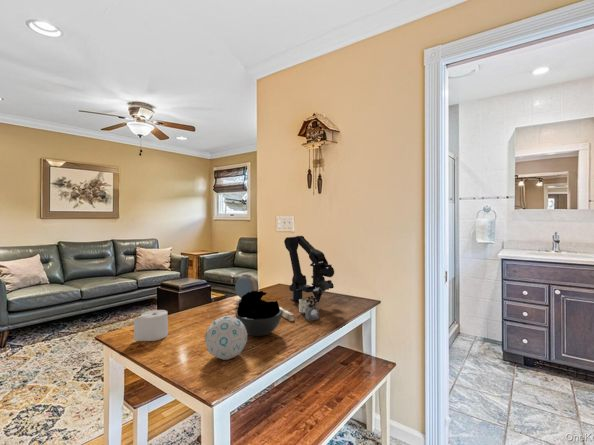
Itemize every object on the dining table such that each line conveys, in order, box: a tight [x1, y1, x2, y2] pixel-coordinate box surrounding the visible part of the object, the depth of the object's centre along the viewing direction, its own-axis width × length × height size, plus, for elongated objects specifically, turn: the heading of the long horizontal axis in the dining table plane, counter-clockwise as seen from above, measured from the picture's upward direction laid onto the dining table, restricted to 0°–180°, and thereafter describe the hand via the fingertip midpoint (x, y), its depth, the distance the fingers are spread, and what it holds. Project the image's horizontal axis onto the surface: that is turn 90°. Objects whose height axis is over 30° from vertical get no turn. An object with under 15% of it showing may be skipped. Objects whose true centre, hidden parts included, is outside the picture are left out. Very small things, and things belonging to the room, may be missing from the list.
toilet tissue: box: [133, 309, 169, 342], centre depth 131 cm, size 11×12×10 cm
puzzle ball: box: [204, 315, 248, 361], centre depth 112 cm, size 15×15×15 cm
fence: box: [279, 306, 295, 322], centre depth 158 cm, size 18×2×3 cm, turn 32°
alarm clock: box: [233, 273, 259, 306], centre depth 179 cm, size 14×10×18 cm
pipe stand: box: [303, 306, 320, 322], centre depth 153 cm, size 8×6×6 cm
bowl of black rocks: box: [235, 290, 283, 337], centre depth 133 cm, size 20×20×19 cm
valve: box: [298, 295, 318, 314], centre depth 167 cm, size 7×7×12 cm
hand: (318, 301), depth 172 cm, fingers closed
